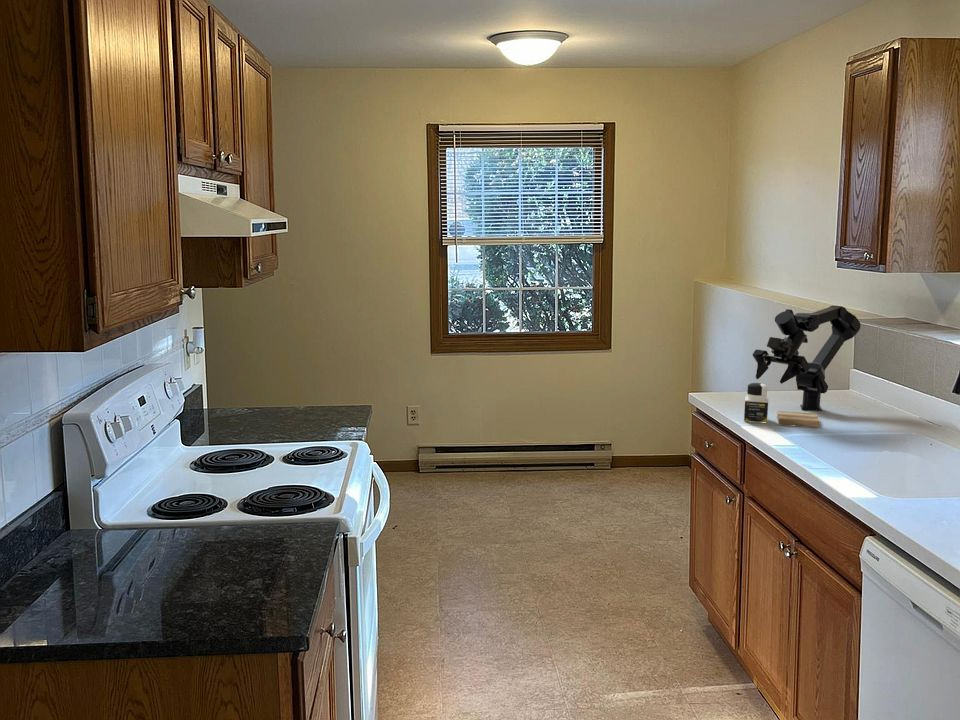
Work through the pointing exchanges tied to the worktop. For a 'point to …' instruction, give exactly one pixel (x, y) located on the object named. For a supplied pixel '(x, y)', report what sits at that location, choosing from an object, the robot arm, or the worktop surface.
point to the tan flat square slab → (797, 419)
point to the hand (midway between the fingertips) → (768, 380)
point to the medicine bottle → (756, 403)
